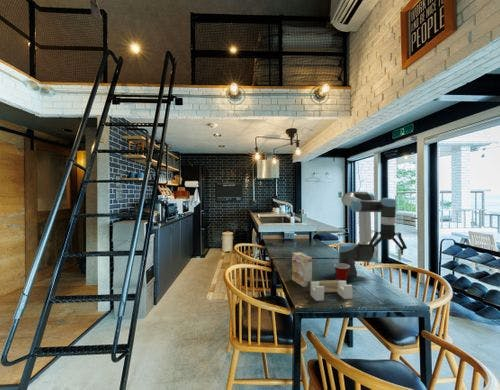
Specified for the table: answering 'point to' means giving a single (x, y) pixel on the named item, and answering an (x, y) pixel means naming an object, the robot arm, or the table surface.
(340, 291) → the foot post
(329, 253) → the table surface
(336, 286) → the rail
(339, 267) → the plastic cup
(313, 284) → the head post
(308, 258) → the coffeecake box
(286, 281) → the table surface
